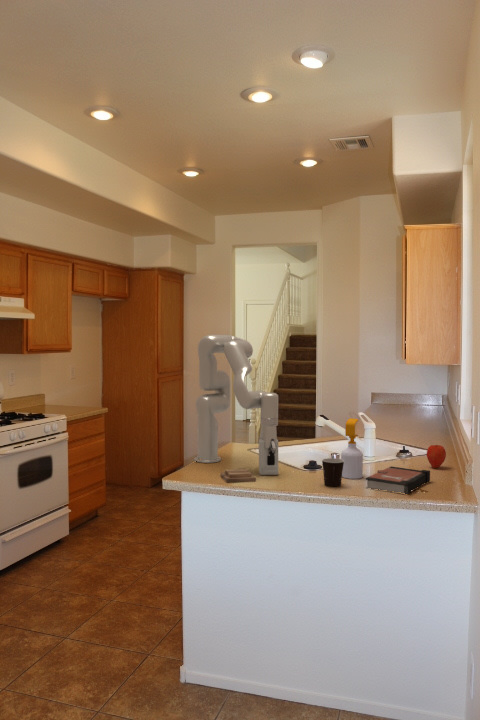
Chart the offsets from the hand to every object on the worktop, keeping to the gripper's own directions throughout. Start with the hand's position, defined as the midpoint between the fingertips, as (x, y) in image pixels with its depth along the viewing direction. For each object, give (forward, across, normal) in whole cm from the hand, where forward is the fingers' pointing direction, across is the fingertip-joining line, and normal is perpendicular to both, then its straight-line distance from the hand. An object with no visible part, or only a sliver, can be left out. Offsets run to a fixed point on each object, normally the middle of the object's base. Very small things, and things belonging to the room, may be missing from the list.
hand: (268, 462), depth 255 cm
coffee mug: (+5, +25, +18) cm, 32 cm away
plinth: (+5, +5, -15) cm, 16 cm away
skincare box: (+5, 0, 0) cm, 5 cm away
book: (+5, +29, +46) cm, 54 cm away
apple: (+5, +5, +78) cm, 79 cm away
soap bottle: (+5, +12, +33) cm, 36 cm away
